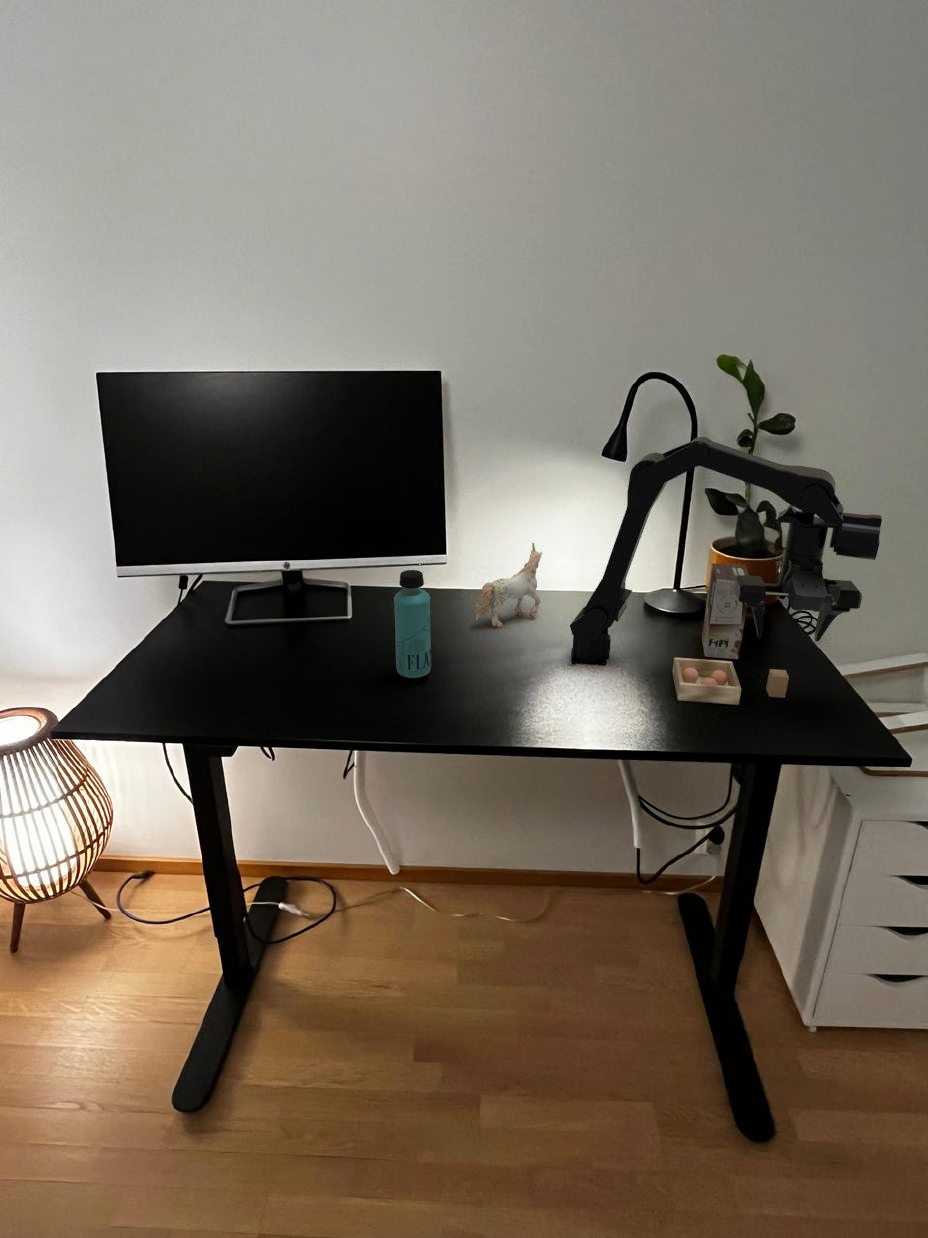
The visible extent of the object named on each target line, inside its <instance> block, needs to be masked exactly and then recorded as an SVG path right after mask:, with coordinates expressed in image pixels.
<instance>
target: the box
mask: <svg viewBox="0 0 928 1238" xmlns="http://www.w3.org/2000/svg"><path fill="white" fill-rule="evenodd" d="M687 668H694V669H695V670H697V672H698V675H699V677H698V680H697V681H696V682H695V683H686V682H685V681H684V680H683V677H682V673H683V671H684V670H685V669H687ZM717 670H721V671H724V672H725V673H726V674H727V677H728V680H727V682H726V684H725V685H723V686H722V685H708V684H701V682H702V681H703V680H704V679H706V678H711V675H712V673H713V672H715V671H717ZM672 678H673V682H674V687H675V688H674V689H675V692H676V698H677V701H684V702H698V703H712V704H721V705H722V704H723V705H724V704H725V705H737V706H739V705H740V699H741V695H742V694H741V693H742V687H741V684H740V680H739V677H738V675H737V672H736V670H735V667H734V663H733V661H729V660H717V659H715V660H714V659H701V658H687V657H686V658H684V657H673V666H672Z"/></svg>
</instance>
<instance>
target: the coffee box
mask: <svg viewBox="0 0 928 1238" xmlns="http://www.w3.org/2000/svg"><path fill="white" fill-rule="evenodd" d="M739 575H748V576H750V573H749V570H748V568H747V566H746V565H745V564H735V563H733V564H732V563H714V562H713V563H711V569H710V575H709V582H708V587H707V588H708V590H707V591H708V592H707V597H706V604H705V605H706V606H705V612H704V619H703V627H702V633H701V641H702V648H703V654H704V657H710V658H719V659H731V660H739V656H740V651H741V645H742V640H743V634H744V633H743V632H744V627H745V621H746V616H747V609H748V606H746V605H745V603H743V602H740V601H738V598H737V596H736V594H735V591H734V584H735V580H736V578H737V577H738V576H739Z"/></svg>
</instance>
